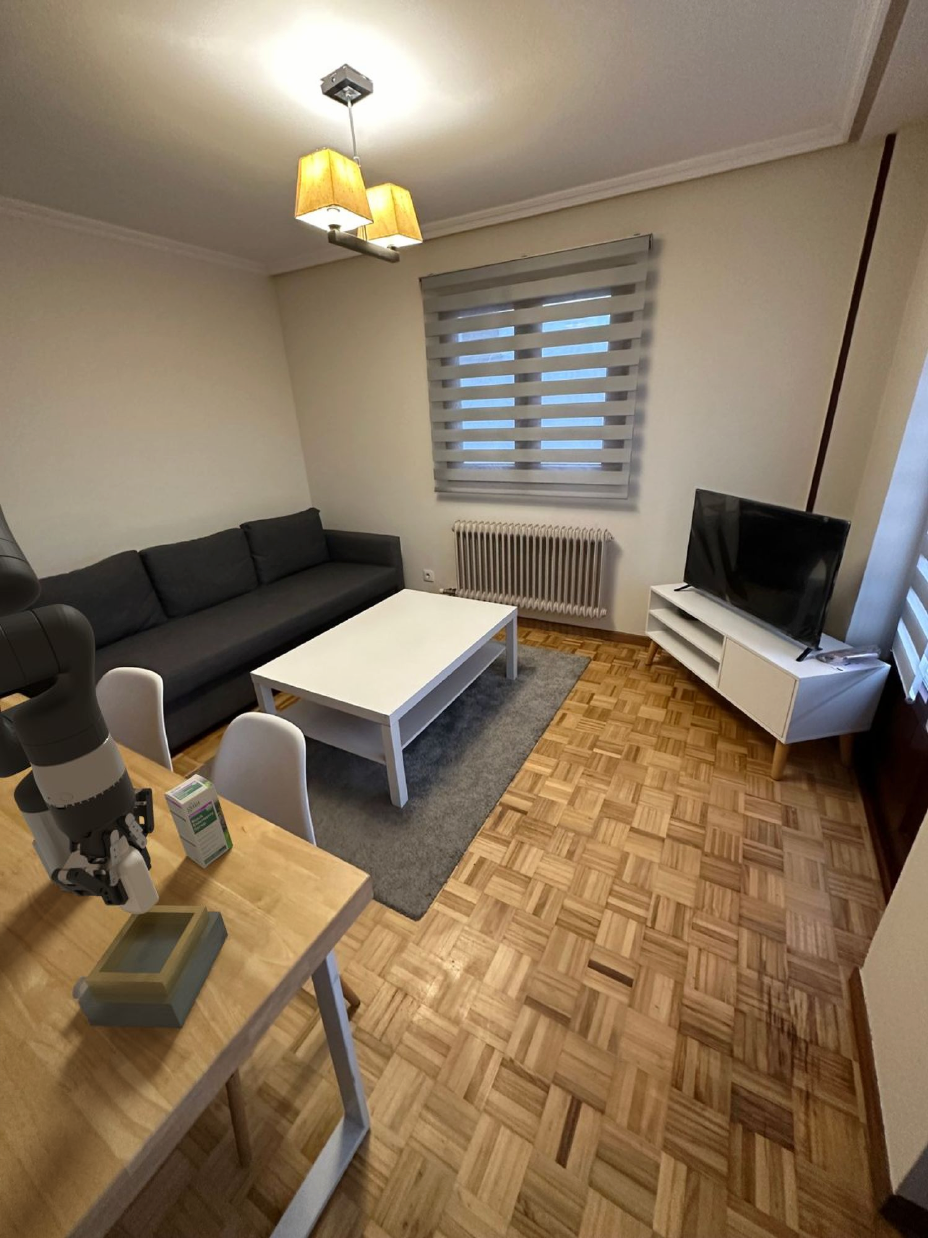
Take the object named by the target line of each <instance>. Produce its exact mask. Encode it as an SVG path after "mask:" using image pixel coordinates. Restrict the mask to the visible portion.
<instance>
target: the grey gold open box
mask: <svg viewBox="0 0 928 1238" xmlns="http://www.w3.org/2000/svg"><path fill="white" fill-rule="evenodd" d="M228 935H229V934H228V930H227V927H226V924H225V921H224V919H223V916H222V913H221V911H217V910H216V911H213V910H211V911H210V910H208V909H207V906H206V905H158V904H157V905H156V904H155V905H153V906H152V907H151V908H150V909H149V910H148V911H147V912H145V913H143V914H131V915H130V916H129V917H128V919H127V921H126V922H125V923H124V925H123V926H122V927H121V929H120V930H119V932H118V934H117V935H115V937H114V938H113V940H112V942H111V943H110V945H108V947H107V948H106V950H105V952H104V953H103V954H102V955H101V957H100V959H99V960H98V961H97V962H96V964H95V966H94V967H93V968H92V970H91V971H90V973H89V974H88V975H83V976H81V977H80V978H79V979H78V980H77V981H76V983H75V984H74V986H73V989H72V995H71V996H72V998H73V999H74V1000H78V1001H77V1003H78V1006H79V1008H81V1010H82V1012H83V1014H84V1016H85V1017H86V1019H87V1021H88V1023H89V1025H90V1026H91V1027H93V1026H94V1027H98V1026H99V1027H125V1028H126V1027H129V1028H130V1027H132V1028H135V1027H136V1028H167V1029H168V1028H170V1029H174V1028H175V1029H182V1028H183V1026H184V1024H185V1022H186V1020H187V1018H188V1015H189V1014H190V1012H191V1009H192V1008H193V1006H194V1003H195V1002H196V999H197V997H198V996H199V993H200V992H201V989H202V988H203V986H204V983H205V981H206V979H207V978H208V976H209V974H210V971H211V969H212V967H213V966H214V964H215V961H216V959H217V958H218V955H219V953H220V951H221V950H222V947H223V945H224V943H225V942H226V939H227V937H228Z"/></svg>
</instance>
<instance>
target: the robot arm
mask: <svg viewBox="0 0 928 1238" xmlns="http://www.w3.org/2000/svg"><path fill="white" fill-rule="evenodd" d="M41 591H42V588H41V583H40V580H39V578H38V576H37V574H36V572H35V571H34V569H33V567H32V566H31V564H30V562H29V561H28V559H27V557H26V555H25V554H24V552H23V550H22V548H21V547H20V545H19V544H18V542H17V540H16V538H15V536H14V535H13V533H12V531H11V529H10V527H9V525H8V522H7V520H6V517H5V514H4V511H3V508H2V505H1V504H0V694H4V693H7V692H10V691H14V690H17V689H19V688H23V687H26V686H28V685H31V684H35V683H37V682H40V681H43V680H47V679H50V678H53V677H56V676H58V679H57V681H56V683H54V685H52V686H51V687H50V688H48V689H47V690H46V691H43V692H42V693H41V694H39V695H37V696H34V697H32V698H29V699H26V700H24V701H21V702H20V703H18V704H15V705H13V706H10V707H8V708H6V709H3V710H2V709H1V706H0V779H6V778H9V777H10V778H11V777H13V776H15V775H17V774H20V773H21V772H24V771H26V770H27V769H29V768H31V770H30V771H29V772H28V773H27V774H26V775H25V776H24V777H23V778H22V779H21V780H20V781H19V782H18V784H17V785H16V787H15V789H14V791H13V800H14V802H15V803H16V805H17V807H18V809H19V811H20V813H21V816H22V817H23V819H24V821H25V823H26V825H27V826H28V829H29V830H30V833H31V835H32V836H33V837H32V838H34V839H33V841H32V846H33V850H34V851H35V852H36V854H37V856H38V858H39V859H40V863H41V864H42V866H43V868H44V870H45V872H46V873H47V875H48V878H49V879H50V882H51V883H52V884H53V885H58V888H59V889H60V890H61V891H63V892H65V893H73V894H74V895H76V896H78V897H87V896H88V897H101V898H102V900H103V902H104V905H106V906H111V907H113V906H118V905H125V904H126V902H127V901H128V899H129V898H128V895H127V893H126V891H125V889H124V886H123V884H122V882H121V879H119V875H118V869H117V864H118V863H119V862H120V855H119V848H118V841H119V840H120V838H121V837H122V836H125V837H126V839H127V842H128V844H129V846H132V847H134V848H135V849H137V850H138V851H139V852H140V854H141V855H142V857H143V859H144V861H145V864H146V866H147V869H148V871H149V872H150V871H151V870H152V864H151V861H152V859H151V856H150V854H149V851H148V850H149V849H148V848H147V844H148V839H147V837H148V835H149V834H152V833H154V830H155V817H154V814H155V812H154V801H153V799H154V798H153V789H152V788H151V787H135V788H134V785H133V783H132V780H131V778H130V775H129V773H128V769H127V767H126V765H125V761H124V760H123V757H122V755H121V751H120V749H119V747H118V745H117V743H116V742H115V740H114V739H113V738H114V737H112V735H111V733H110V730H109V728H108V725H107V723H106V721H105V719H104V716H103V714H102V710H101V707H100V704H99V701H98V698H97V692H96V689H97V688H96V679H95V676H96V675H95V665H96V664H95V663H96V662H95V661H96V643H95V633H94V630H93V627H92V624H91V622H90V621H89V620H88V618H87V617H86V616H85V615H84V614H83V613H82V612H81V611H80V610H78V609H77V608H75V607H73V606H71V605H66V604H64V603H63V604H62V603H56V604H50V605H46V606H41V607H37V608H33V609H31V610H26V609H28V608H30V606H32V605H34V603H36V601H37V600H38V599H39V597H40V595H41V593H42V592H41ZM140 817H142V818H143V823H141V822H140ZM106 857H107V858H106ZM102 870H104V871H105V872H106V874H104V873H103V871H102ZM118 907H119V906H118Z"/></svg>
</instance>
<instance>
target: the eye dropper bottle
mask: <svg viewBox="0 0 928 1238" xmlns="http://www.w3.org/2000/svg"><path fill="white" fill-rule="evenodd" d="M118 848H119V855H120V862H119V863H118V864H117V869H118V875H119V879H121V882H122V884H123V886H124V889H125V891H126V893H127V895H128V898H129V899H128V901H127V902H126V904H125V905H118V907H119V908H120V909H121V910H122V911H124V912H125V913H128V914H131V915H132V914H143V913H145V912H147V911H148V910H149V909H150V908H151V907H152V906H153V905H156V904H157V903H158V901H159V899H160V897H159V893H158V892H157V889H156V887H155V884H154V881H153V879H152V876H151V874H150V870H149V871H148V869H147V866H146V864H145V861H144V859H143V857H142V855H141V854H140V852H139V851H138V850H137V849H135V848H134V847H132V846H129V844H128V842H127V839H126V837H125V836H122V837H121V838H120V840H119V841H118ZM106 858H107V857H106ZM102 871H103V873H104V874H106V872H105V871H104V870H102Z"/></svg>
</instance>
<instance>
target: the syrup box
mask: <svg viewBox="0 0 928 1238" xmlns="http://www.w3.org/2000/svg"><path fill="white" fill-rule="evenodd" d="M163 795H164V799H165V802H166V805H167V806H168V809H169V812H170V815H171V817H172V820H173V824H174V825H175V828H176V830H177V833H178V836H179V839H180V841H181V845H182V847H183V849H184V852H185V855H186V856H187V857H188V858H189V859H191V860H192V861H193V862H195V863H196V864H197V865H199V866H200V867H202V868H203V869H206V868H208V866H209V865H210V864H211V863H213V862H215V860H216V861H217V859H218V858H220V857H221V856H222V855H223V854H224V853H226V852H227V851H229V850H230V849H231V848H232V847H233V846H234V844H233V841H232V838H231V834H230V832H229V829H228V825H227V822H226V818H225V815H224V812H223V808H222V806H221V802H220V800H219V796H218V793H217V790H216V787H215V785H214V784H213V783H212V782H211V781H209V780H208V779H206V778H205V777H203V776H201V775H198V774H197V773H195V774H194V775H192V776H191V777H190V778H188V779H186V780H184V781H183V782H181V783H180V784H178V785H176V786H175V787H173V788H171V789H170V790H168V791H166V792H165V793H164V794H163Z"/></svg>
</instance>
